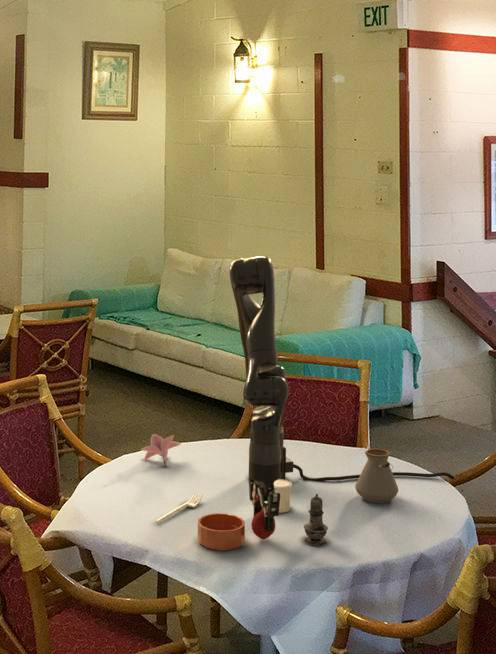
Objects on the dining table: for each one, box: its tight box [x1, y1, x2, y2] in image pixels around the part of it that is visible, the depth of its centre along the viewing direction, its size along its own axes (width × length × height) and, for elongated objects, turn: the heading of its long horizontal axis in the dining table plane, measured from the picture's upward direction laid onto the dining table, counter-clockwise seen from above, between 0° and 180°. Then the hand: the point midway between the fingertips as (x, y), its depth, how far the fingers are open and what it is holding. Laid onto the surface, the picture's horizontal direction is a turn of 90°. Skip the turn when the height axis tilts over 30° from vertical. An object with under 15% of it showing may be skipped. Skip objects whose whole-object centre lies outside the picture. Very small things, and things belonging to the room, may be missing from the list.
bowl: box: [197, 512, 246, 551], centre depth 232 cm, size 11×11×5 cm
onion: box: [250, 508, 277, 541], centre depth 233 cm, size 6×6×8 cm
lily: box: [140, 433, 182, 467], centre depth 289 cm, size 12×12×10 cm
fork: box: [155, 493, 204, 524], centre depth 251 cm, size 3×20×2 cm, turn 145°
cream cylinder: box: [266, 479, 293, 514], centre depth 253 cm, size 7×7×7 cm
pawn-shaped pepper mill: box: [303, 493, 329, 547], centre depth 232 cm, size 6×6×12 cm
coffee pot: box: [354, 448, 399, 504], centre depth 256 cm, size 21×12×15 cm, turn 177°
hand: (263, 525), depth 233 cm, fingers closed on onion, 6 cm apart
